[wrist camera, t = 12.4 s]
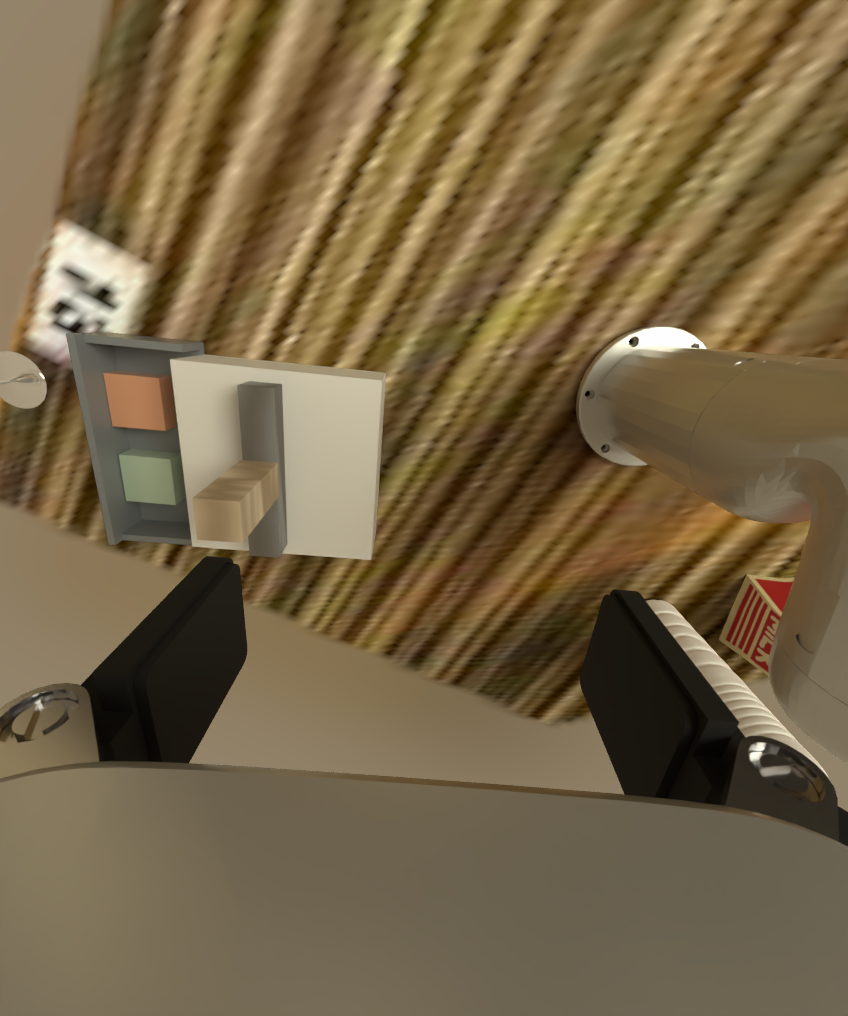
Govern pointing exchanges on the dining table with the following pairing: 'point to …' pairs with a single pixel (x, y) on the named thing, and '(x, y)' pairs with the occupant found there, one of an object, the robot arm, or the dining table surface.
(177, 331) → the dining table surface
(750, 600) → the milk carton
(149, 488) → the green tile
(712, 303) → the dining table surface
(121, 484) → the tray
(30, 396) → the wineglass
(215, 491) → the scraper
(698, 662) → the water bottle
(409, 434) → the dining table surface
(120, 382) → the terracotta tile
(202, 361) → the white flat square block
